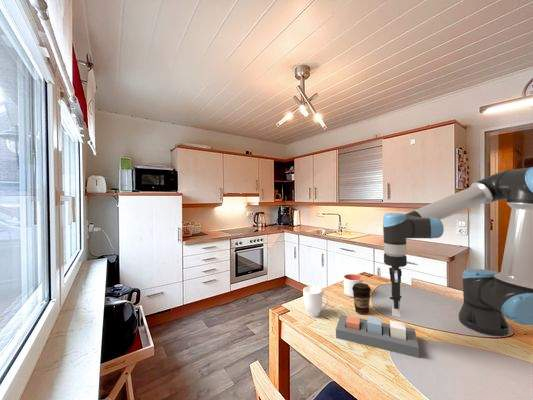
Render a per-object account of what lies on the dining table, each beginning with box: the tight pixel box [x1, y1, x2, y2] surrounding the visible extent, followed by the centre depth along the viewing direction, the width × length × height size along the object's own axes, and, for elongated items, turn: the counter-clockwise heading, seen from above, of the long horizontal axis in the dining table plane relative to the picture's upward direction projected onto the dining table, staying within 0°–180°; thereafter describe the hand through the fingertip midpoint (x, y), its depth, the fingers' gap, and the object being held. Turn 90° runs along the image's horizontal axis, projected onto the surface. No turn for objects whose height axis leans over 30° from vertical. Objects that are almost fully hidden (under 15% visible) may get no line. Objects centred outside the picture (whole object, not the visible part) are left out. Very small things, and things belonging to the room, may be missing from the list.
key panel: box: [335, 314, 420, 359], centre depth 90 cm, size 28×12×4 cm, turn 63°
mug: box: [302, 285, 329, 318], centre depth 109 cm, size 12×9×12 cm
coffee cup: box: [352, 282, 372, 315], centre depth 109 cm, size 9×8×13 cm
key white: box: [389, 320, 406, 340], centre depth 86 cm, size 5×5×5 cm
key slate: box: [366, 315, 383, 335], centre depth 90 cm, size 5×5×5 cm
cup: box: [343, 273, 363, 299], centre depth 128 cm, size 10×10×10 cm
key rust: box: [346, 315, 361, 330], centre depth 93 cm, size 5×5×5 cm
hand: (396, 315), depth 86 cm, fingers closed
